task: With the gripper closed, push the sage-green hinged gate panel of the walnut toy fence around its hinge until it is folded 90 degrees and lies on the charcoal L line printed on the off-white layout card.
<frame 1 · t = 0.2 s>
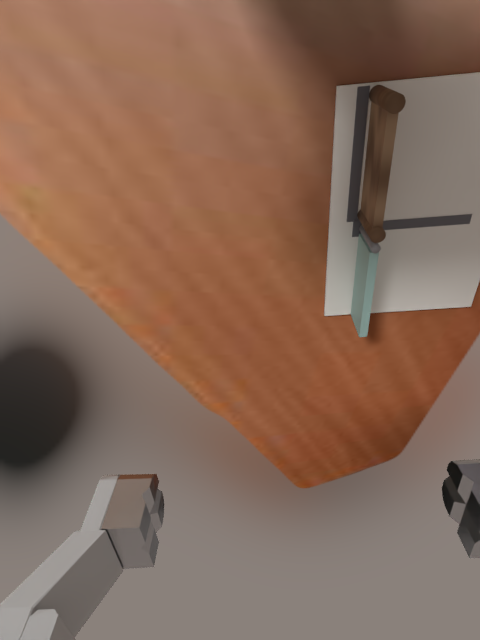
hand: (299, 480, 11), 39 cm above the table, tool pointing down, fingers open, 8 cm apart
layout card: (414, 213, 47), on the table
fence: (369, 158, 43), resting on layout card
gate panel: (363, 283, 48), point 4 cm above the table, hinge at 0.0°
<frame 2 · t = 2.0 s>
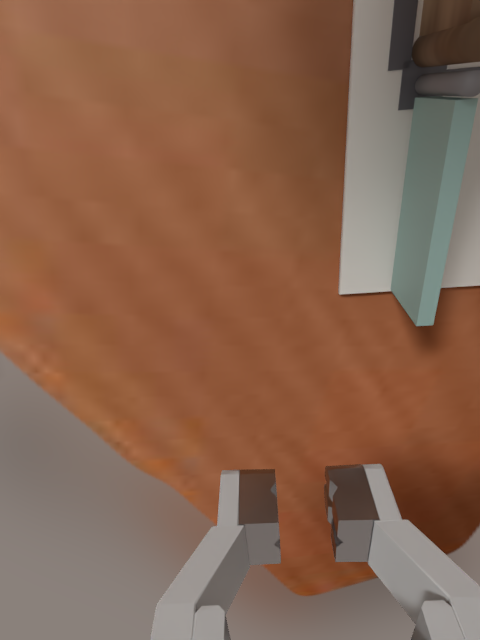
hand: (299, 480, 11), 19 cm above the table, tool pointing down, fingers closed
gate panel: (426, 206, 23), point 4 cm above the table, hinge at 0.0°
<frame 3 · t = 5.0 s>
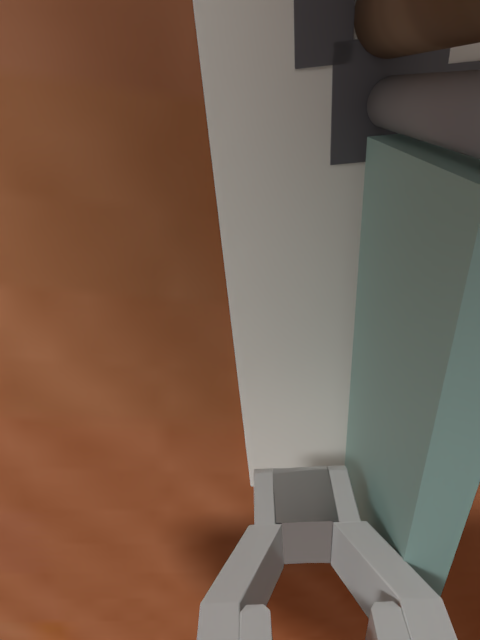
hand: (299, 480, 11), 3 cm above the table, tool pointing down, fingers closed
gate panel: (401, 404, 9), point 3 cm above the table, hinge at 0.0°, touching gripper
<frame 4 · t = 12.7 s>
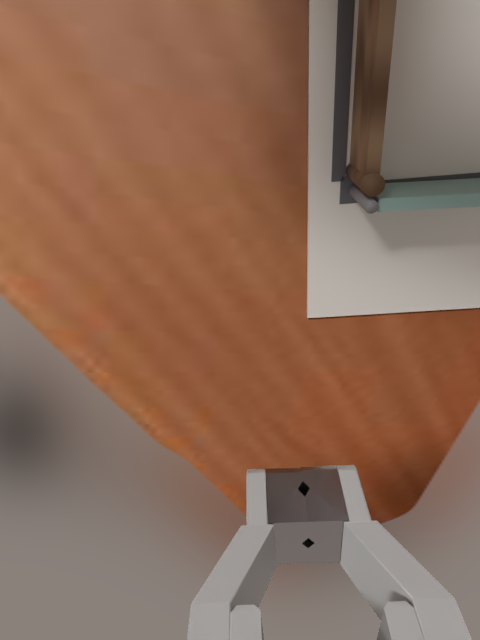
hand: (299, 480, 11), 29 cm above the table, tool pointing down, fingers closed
layout card: (423, 171, 34), on the table
fence: (359, 87, 31), resting on layout card
gate panel: (438, 193, 32), point 4 cm above the table, hinge at 88.7°
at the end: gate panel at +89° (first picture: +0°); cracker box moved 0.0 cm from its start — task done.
